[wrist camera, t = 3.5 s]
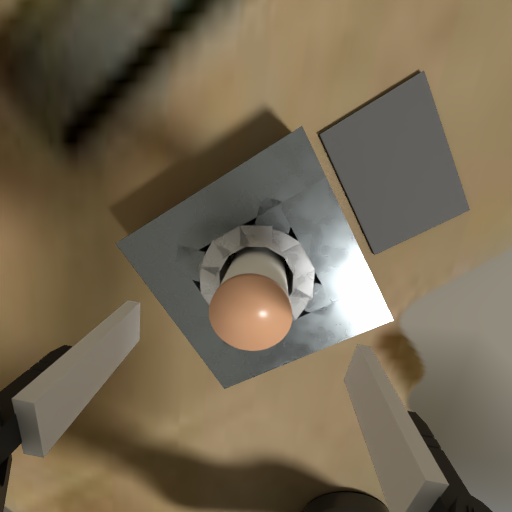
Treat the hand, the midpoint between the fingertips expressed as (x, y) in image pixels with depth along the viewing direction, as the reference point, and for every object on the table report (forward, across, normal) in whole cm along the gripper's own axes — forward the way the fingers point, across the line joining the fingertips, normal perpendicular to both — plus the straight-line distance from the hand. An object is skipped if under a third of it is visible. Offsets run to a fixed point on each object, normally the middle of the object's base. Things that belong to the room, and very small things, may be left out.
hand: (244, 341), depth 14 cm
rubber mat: (+14, -12, -12) cm, 22 cm away
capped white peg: (+14, 0, 0) cm, 14 cm away
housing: (+14, 0, 0) cm, 14 cm away
